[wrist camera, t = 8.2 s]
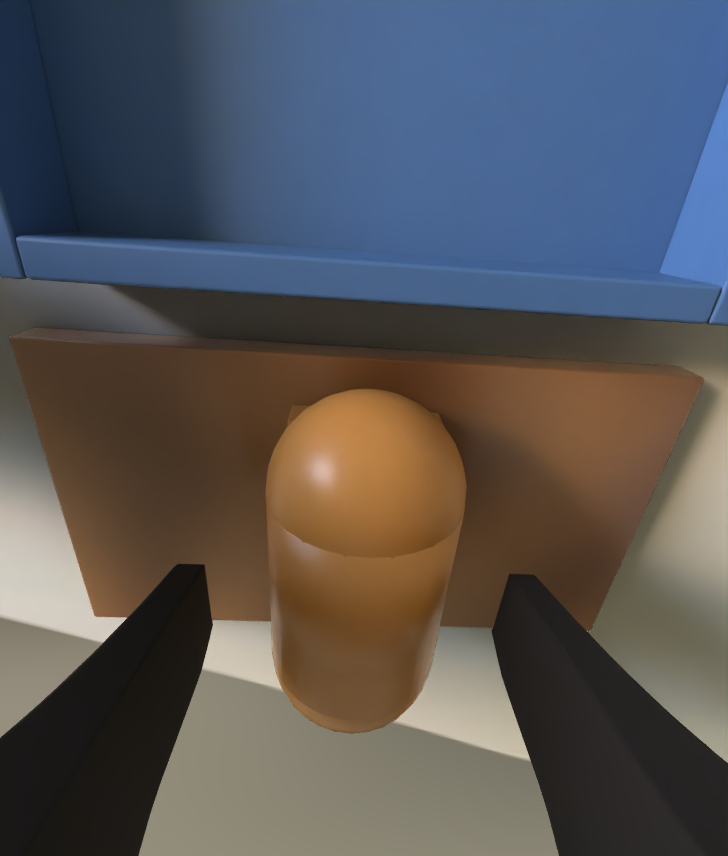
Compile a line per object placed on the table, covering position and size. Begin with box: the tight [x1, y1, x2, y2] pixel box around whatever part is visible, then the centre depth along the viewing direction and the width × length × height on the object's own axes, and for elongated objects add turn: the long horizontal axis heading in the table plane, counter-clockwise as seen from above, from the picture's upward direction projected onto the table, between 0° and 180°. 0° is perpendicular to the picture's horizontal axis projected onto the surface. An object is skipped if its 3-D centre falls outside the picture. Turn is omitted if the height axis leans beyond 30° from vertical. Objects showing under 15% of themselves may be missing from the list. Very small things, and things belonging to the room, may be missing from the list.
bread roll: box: [265, 389, 467, 733], centre depth 11 cm, size 5×10×5 cm, turn 176°
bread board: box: [9, 328, 704, 630], centre depth 14 cm, size 18×10×1 cm, turn 86°
